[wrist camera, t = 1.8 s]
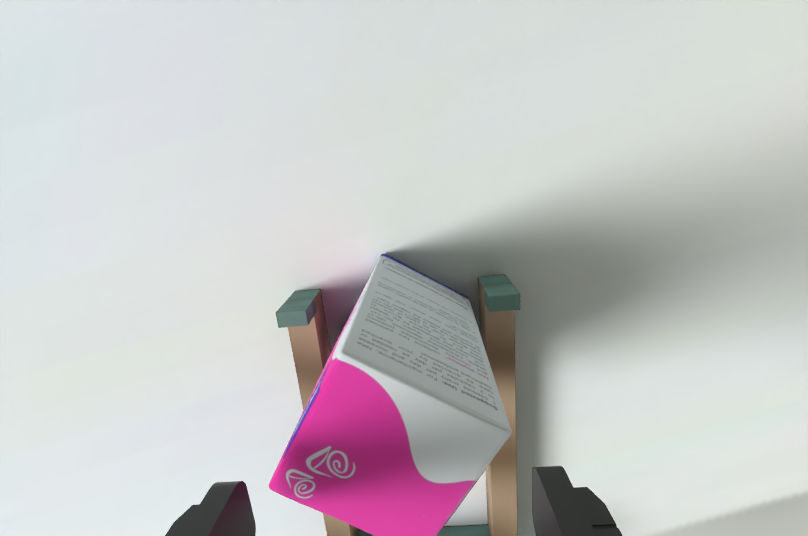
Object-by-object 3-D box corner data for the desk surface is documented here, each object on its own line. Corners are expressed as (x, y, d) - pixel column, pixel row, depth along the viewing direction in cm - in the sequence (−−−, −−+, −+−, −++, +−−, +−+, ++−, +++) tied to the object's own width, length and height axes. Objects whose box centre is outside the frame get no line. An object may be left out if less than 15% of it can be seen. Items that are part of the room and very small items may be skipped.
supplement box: (378, 249, 21) (341, 346, 10) (471, 296, 22) (527, 436, 11) (334, 333, 23) (262, 496, 12) (422, 375, 24) (430, 567, 13)
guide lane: (294, 291, 22) (261, 328, 17) (505, 274, 22) (531, 308, 17) (341, 553, 28) (326, 636, 23) (510, 545, 27) (531, 629, 22)
